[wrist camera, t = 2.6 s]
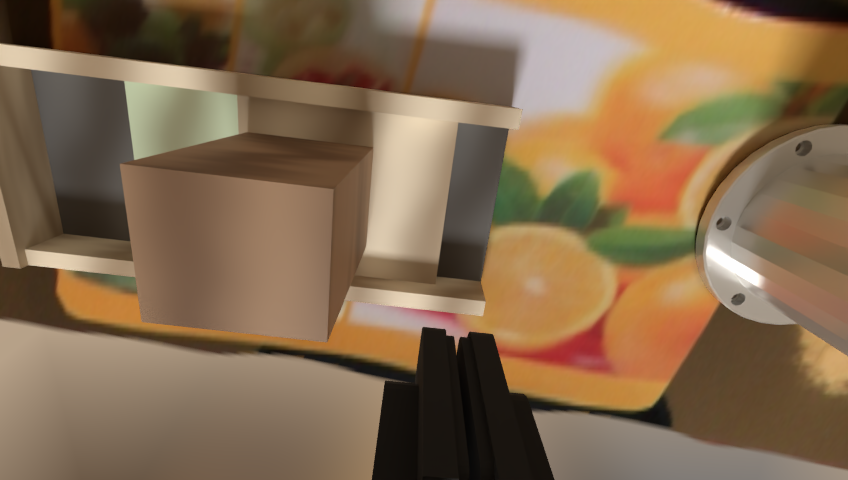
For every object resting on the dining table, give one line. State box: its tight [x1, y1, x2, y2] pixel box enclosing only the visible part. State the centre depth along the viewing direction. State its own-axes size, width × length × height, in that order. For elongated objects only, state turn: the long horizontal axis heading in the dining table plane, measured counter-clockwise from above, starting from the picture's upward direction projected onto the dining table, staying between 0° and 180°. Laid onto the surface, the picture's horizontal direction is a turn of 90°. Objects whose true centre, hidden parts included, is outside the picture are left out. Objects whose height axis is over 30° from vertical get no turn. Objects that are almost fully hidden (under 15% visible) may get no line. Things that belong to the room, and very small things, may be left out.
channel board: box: [0, 43, 523, 316], centre depth 24 cm, size 28×12×4 cm, turn 83°
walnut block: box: [120, 132, 373, 342], centre depth 19 cm, size 7×6×10 cm
